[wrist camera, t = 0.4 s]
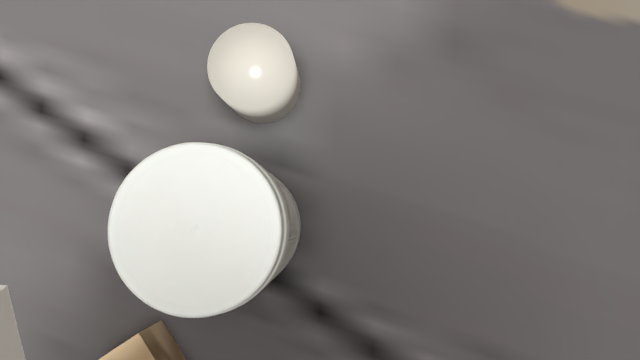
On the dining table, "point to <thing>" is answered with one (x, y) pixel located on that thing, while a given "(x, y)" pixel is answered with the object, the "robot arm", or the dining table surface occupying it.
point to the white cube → (254, 72)
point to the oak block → (148, 346)
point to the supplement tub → (201, 229)
